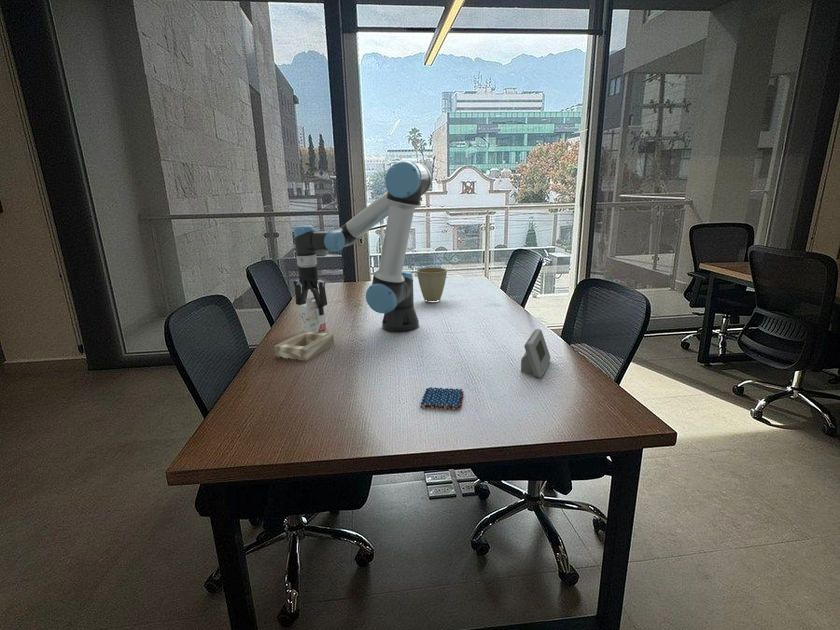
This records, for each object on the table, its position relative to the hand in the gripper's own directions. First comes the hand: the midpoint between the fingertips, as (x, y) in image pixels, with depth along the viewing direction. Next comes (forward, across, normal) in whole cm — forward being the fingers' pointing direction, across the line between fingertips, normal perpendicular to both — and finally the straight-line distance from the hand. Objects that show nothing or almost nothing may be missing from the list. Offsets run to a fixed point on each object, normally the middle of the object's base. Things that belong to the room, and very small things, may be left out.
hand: (313, 322), depth 176 cm
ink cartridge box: (+4, 0, 0) cm, 4 cm away
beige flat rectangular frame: (+4, +10, -20) cm, 23 cm away
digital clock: (+4, +90, -13) cm, 91 cm away
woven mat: (+5, +69, -42) cm, 81 cm away
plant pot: (+4, +31, +58) cm, 66 cm away
